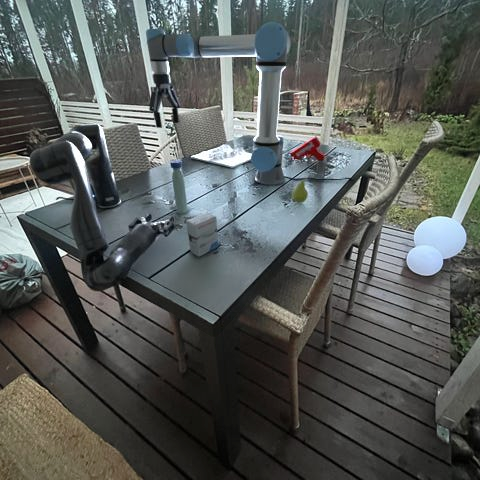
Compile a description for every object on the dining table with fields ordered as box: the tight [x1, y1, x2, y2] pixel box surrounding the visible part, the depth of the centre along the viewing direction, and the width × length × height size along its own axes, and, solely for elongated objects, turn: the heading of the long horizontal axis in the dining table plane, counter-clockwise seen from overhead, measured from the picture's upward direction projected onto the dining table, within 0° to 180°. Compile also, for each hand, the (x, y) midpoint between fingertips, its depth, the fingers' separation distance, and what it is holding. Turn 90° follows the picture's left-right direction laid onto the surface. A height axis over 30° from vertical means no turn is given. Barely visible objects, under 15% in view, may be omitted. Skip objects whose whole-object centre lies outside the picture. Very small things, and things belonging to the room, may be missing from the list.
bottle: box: [171, 167, 189, 215], centre depth 109 cm, size 5×5×21 cm
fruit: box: [291, 174, 311, 204], centre depth 118 cm, size 7×8×12 cm
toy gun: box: [290, 135, 326, 164], centre depth 171 cm, size 18×4×15 cm
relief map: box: [190, 143, 252, 169], centre depth 179 cm, size 27×35×5 cm
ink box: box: [185, 211, 219, 258], centre depth 87 cm, size 8×5×12 cm, turn 134°
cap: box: [169, 159, 183, 169], centre depth 104 cm, size 4×4×2 cm
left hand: (161, 216), depth 97 cm, fingers open, 8 cm apart
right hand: (168, 125), depth 131 cm, fingers open, 13 cm apart
